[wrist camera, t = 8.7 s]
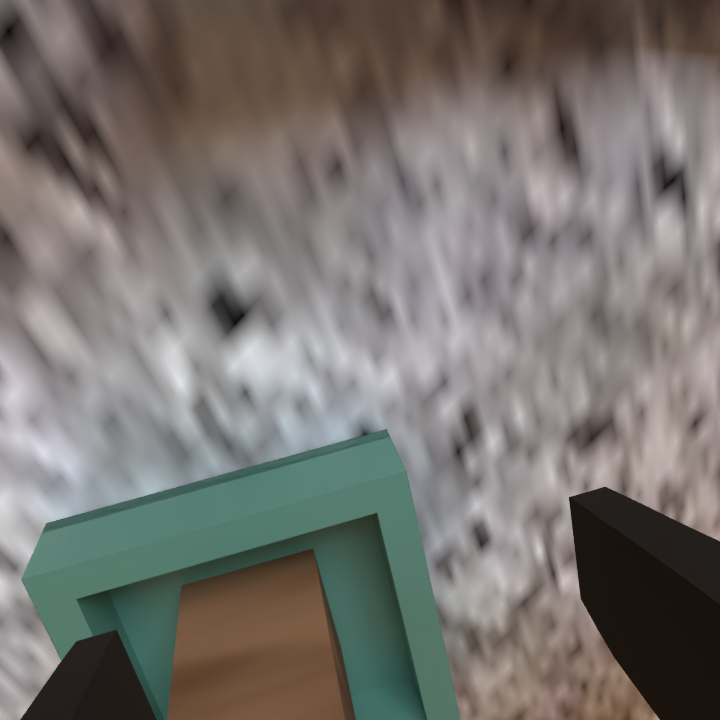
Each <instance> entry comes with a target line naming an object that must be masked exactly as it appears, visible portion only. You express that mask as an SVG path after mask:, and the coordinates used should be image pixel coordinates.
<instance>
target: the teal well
mask: <svg viewBox="0 0 720 720" xmlns="http://www.w3.org/2000/svg"><path fill="white" fill-rule="evenodd" d="M309 549H313V550H314V553H315V557H316V560H317V564H318V567H319V571H320V574H321V578H322V581H323V585H324V588H325V592H326V596H327V599H328V603H329V606H330V610H331V613H332V617H333V620H334V624H335V627H336V631H337V635H338V638H339V642H340V645H341V649H342V654H343V658H344V663H345V668H346V673H347V678H348V683H349V688H350V693H351V698H352V703H353V708H354V713H355V718H356V720H460V715H459V710H458V706H457V701H456V697H455V692H454V688H453V683H452V678H451V674H450V669H449V665H448V660H447V655H446V651H445V646H444V642H443V637H442V632H441V628H440V623H439V619H438V614H437V609H436V605H435V600H434V596H433V591H432V586H431V582H430V577H429V573H428V568H427V563H426V559H425V554H424V550H423V545H422V540H421V536H420V531H419V527H418V522H417V517H416V513H415V508H414V504H413V499H412V494H411V490H410V485H409V481H408V476H407V472H406V469H405V467H404V465H403V463H402V461H401V459H400V456H399V454H398V452H397V450H396V448H395V446H394V444H393V442H392V440H391V438H390V436H389V434H388V432H387V430H383V431H379V432H375V433H372V434H368V435H365V436H361V437H357V438H354V439H350V440H346V441H343V442H339V443H336V444H332V445H328V446H325V447H321V448H318V449H314V450H310V451H307V452H303V453H299V454H296V455H292V456H289V457H285V458H281V459H278V460H274V461H271V462H267V463H263V464H260V465H256V466H252V467H249V468H245V469H242V470H238V471H234V472H231V473H227V474H223V475H220V476H216V477H213V478H209V479H205V480H202V481H198V482H195V483H191V484H187V485H184V486H180V487H176V488H173V489H169V490H166V491H162V492H158V493H155V494H151V495H148V496H144V497H140V498H137V499H133V500H129V501H126V502H122V503H119V504H115V505H111V506H108V507H104V508H101V509H97V510H93V511H90V512H86V513H82V514H79V515H75V516H72V517H68V518H64V519H61V520H57V521H53V522H50V523H46V526H45V528H44V530H43V532H42V535H41V537H40V539H39V541H38V543H37V546H36V548H35V550H34V552H33V554H32V557H31V559H30V561H29V563H28V566H27V568H26V570H25V572H24V574H23V577H22V579H21V580H22V582H23V584H24V586H25V588H26V590H27V592H28V594H29V596H30V598H31V600H32V602H33V604H34V606H35V608H36V610H37V612H38V614H39V616H40V618H41V620H42V622H43V624H44V626H45V628H46V630H47V632H48V634H49V636H50V638H51V640H52V642H53V645H54V647H55V649H56V651H57V653H58V655H59V657H60V659H61V661H62V660H63V658H64V657H65V656H66V654H67V653H68V651H69V650H70V649H71V648H72V646H73V645H74V644H75V642H76V641H79V640H82V639H86V638H89V637H93V636H96V635H100V634H103V633H106V632H110V631H113V630H117V631H118V634H119V636H120V638H121V640H122V643H123V645H124V647H125V649H126V652H127V654H128V656H129V658H130V661H131V663H132V665H133V667H134V670H135V672H136V674H137V676H138V679H139V681H140V683H141V685H142V688H143V690H144V692H145V694H146V697H147V699H148V701H149V703H150V706H151V708H152V710H153V712H154V715H155V717H156V719H157V720H167V716H168V707H169V698H170V689H171V679H172V670H173V661H174V651H175V642H176V633H177V623H178V614H179V605H180V595H181V586H182V585H186V584H189V583H193V582H196V581H200V580H203V579H207V578H210V577H214V576H217V575H221V574H224V573H228V572H231V571H235V570H239V569H242V568H246V567H249V566H253V565H256V564H260V563H263V562H267V561H270V560H274V559H277V558H281V557H284V556H288V555H291V554H295V553H299V552H302V551H306V550H309Z"/></svg>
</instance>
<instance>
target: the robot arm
mask: <svg viewBox="0 0 720 720" xmlns="http://www.w3.org/2000/svg"><path fill="white" fill-rule="evenodd" d="M569 502H570V510H571V519H572V527H573V536H574V544H575V553H576V561H577V570H578V579H579V587H580V596H581V600H582V602H583V604H584V605H585V607H586V609H587V611H588V613H589V614H590V616H591V618H592V620H593V622H594V623H595V625H596V627H597V629H598V631H599V632H600V634H601V636H602V637H603V639H604V641H605V643H606V644H607V646H608V648H609V649H610V651H611V653H612V654H613V656H614V658H615V659H616V660H617V662H618V663H619V664H620V666H621V667H622V669H623V670H624V671H625V673H626V674H627V676H628V677H629V678H630V680H631V681H632V682H633V684H634V685H635V686H636V688H637V689H638V691H639V692H640V693H641V695H642V696H643V697H644V699H645V700H646V701H647V703H648V704H649V706H650V707H651V708H652V710H653V711H654V712H655V714H656V715H657V716H658V718H659V719H660V720H720V541H718V540H716V539H713V538H711V537H709V536H707V535H705V534H703V533H700V532H698V531H696V530H694V529H692V528H690V527H688V526H686V525H684V524H682V523H680V522H677V521H675V520H673V519H671V518H669V517H667V516H665V515H663V514H661V513H659V512H657V511H655V510H653V509H651V508H649V507H647V506H645V505H643V504H641V503H639V502H636V501H634V500H632V499H630V498H628V497H626V496H624V495H622V494H620V493H618V492H616V491H613V490H611V489H609V488H607V487H603V488H599V489H596V490H593V491H589V492H586V493H582V494H579V495H575V496H572V497H569ZM21 720H157V719H156V717H155V715H154V712H153V710H152V708H151V706H150V703H149V701H148V699H147V697H146V694H145V692H144V690H143V688H142V685H141V683H140V681H139V679H138V676H137V674H136V672H135V670H134V667H133V665H132V663H131V661H130V658H129V656H128V654H127V652H126V649H125V647H124V645H123V643H122V640H121V638H120V636H119V634H118V631H117V630H113V631H110V632H106V633H103V634H100V635H96V636H93V637H89V638H86V639H82V640H79V641H76V642H75V644H74V645H73V646H72V648H71V649H70V650H69V651H68V653H67V654H66V656H65V657H64V658H63V660H62V661H61V663H60V664H59V665H58V667H57V668H56V670H55V671H54V672H53V674H52V675H51V677H50V678H49V680H48V681H47V682H46V684H45V685H44V687H43V688H42V690H41V691H40V693H39V694H38V695H37V697H36V698H35V700H34V701H33V703H32V704H31V705H30V707H29V708H28V710H27V711H26V713H25V714H24V715H23V717H22V718H21Z"/></svg>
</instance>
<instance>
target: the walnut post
mask: <svg viewBox="0 0 720 720" xmlns="http://www.w3.org/2000/svg"><path fill="white" fill-rule="evenodd" d="M167 720H356V718H355V713H354V708H353V703H352V698H351V693H350V688H349V683H348V678H347V673H346V668H345V663H344V658H343V654H342V649H341V645H340V642H339V638H338V635H337V631H336V627H335V624H334V620H333V617H332V613H331V610H330V606H329V603H328V599H327V596H326V592H325V588H324V585H323V581H322V578H321V574H320V571H319V567H318V564H317V560H316V557H315V553H314V550H313V549H309V550H306V551H302V552H299V553H295V554H291V555H288V556H284V557H281V558H277V559H274V560H270V561H267V562H263V563H260V564H256V565H253V566H249V567H246V568H242V569H239V570H235V571H231V572H228V573H224V574H221V575H217V576H214V577H210V578H207V579H203V580H200V581H196V582H193V583H189V584H186V585H182V586H181V595H180V605H179V614H178V623H177V633H176V642H175V651H174V661H173V670H172V679H171V689H170V698H169V707H168V716H167Z"/></svg>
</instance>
